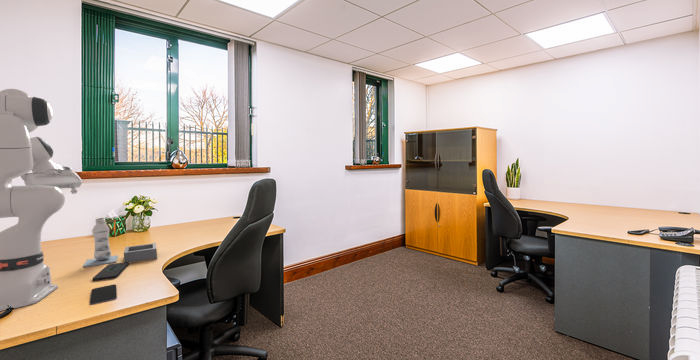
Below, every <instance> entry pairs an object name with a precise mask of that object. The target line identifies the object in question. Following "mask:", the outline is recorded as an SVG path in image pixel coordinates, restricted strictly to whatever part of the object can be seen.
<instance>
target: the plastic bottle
mask: <svg viewBox="0 0 700 360" xmlns="http://www.w3.org/2000/svg"><path fill="white" fill-rule="evenodd" d="M92 235H93V240H94V253H93V257H94V258H93V259H96V260H105V259H108V258H110V257H111V256H112V250H111V247H110V240H109V238H110V227H109V226H108V224H107V223H106V218H105V217H98V218H95V225H94V226H93V228H92Z"/></svg>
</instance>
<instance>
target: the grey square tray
mask: <svg viewBox="0 0 700 360" xmlns="http://www.w3.org/2000/svg"><path fill="white" fill-rule="evenodd" d="M157 249H158V248H157V243H156V242H154V243H147V244H138V245H131V246H125V247H124V250H123V262H129V264H131V263H135V262H143V261H149V260H155V259H158V254H157V253H158V251H157Z"/></svg>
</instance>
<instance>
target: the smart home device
mask: <svg viewBox="0 0 700 360" xmlns="http://www.w3.org/2000/svg"><path fill="white" fill-rule="evenodd" d="M128 266H130V263H129V262H124V261H123V262H116V263H109V264H106V266H104V268H103V269H101V270H100V271H99V272H98V273H97V274H96V275H94V276H93V277H92V278H91V281H92V282H99V281H106V280H112V279H116V278H118V277H119V276H121V274H122V273H123V272H125V270H126V269H127V267H128Z"/></svg>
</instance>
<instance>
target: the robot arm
mask: <svg viewBox="0 0 700 360" xmlns="http://www.w3.org/2000/svg"><path fill="white" fill-rule="evenodd" d="M53 111H54V110H53V108H52V107H51V105H50V103H49V101H47V100H46V99H44V98H40V97H36V96H33V97H32V96H31V95H29V94H28V93H27V92H25V91H24V90H21V89H17V88H7V89H6V88H4V89H2V90H0V219H6V218H18V221H17V223H16V224H14V225H12V226H9V227H7V228H6V229H3V230H2V231H0V312H3V311H7V310H6V309H7V308H8V306H7V305H9V307H10V306H11V307H13V308H14V309H17V308H22V307H25V306H29V305H34V304H36V303H39V302H40V301H41V300H43V299H44V298H45V297H47V296H48V295H49V294H51V293H52V292H54V291H56V290H57V289H58V288H59V286H58V284H54V283H53V281H52V273H51V269H50V268H51V267H50V266H49V265H47V264H45V263H44V257H45V256H44V251H42V244H41V243H42V239H41V238H42V231H43V227H44V226H45V224H46V222H47V221H48V220H49V219H50V218H51V216H53V215H54V214H56V213H57V212H59V211H60V210H61V209H62V208H63V206H64V205H65V201H66V200H65V199H66V198H65V193H64V192H63V191H62V190H63V189H71V190H70V193H71V194H73V195H74V194H77V193H78V190H77V188H80V187H81V185H82V184H83V180H82V178H81V177H80V176H79V175H78V173H76V172H74V171H73V168H72V167H70V166H64V165H60V164H56V162H54V161H53V159H52V158H53V155H54V150H53V148H52V147H51V145H49V143H48V142H47V140H46V139H45V138H42V137H39V136H34V137H30V134H29V133H32V132H34V131H35V130H37V129H38V127H41V126H42V127H43V126H44V127H45V126H47V125H49V124H50V123H51V120H52V119H53V115H54V113H53ZM19 177H20V178H21V179H22V181H24V185H13V183H12V182H13V181H12V180H13V179H17V178H19ZM61 189H62V190H61ZM52 283H53V284H52Z"/></svg>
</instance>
